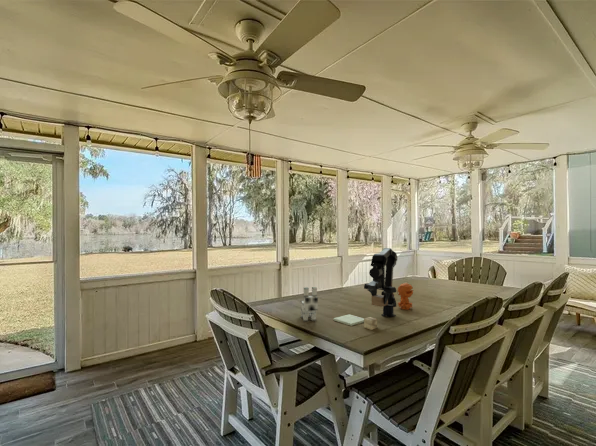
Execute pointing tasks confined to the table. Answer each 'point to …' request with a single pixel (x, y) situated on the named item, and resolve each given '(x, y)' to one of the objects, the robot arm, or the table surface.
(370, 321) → the maple block
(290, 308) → the table surface
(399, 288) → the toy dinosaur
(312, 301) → the toy rabbit
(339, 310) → the table surface
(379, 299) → the walnut block
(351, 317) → the plate
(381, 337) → the table surface
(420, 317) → the table surface
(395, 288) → the robot arm
